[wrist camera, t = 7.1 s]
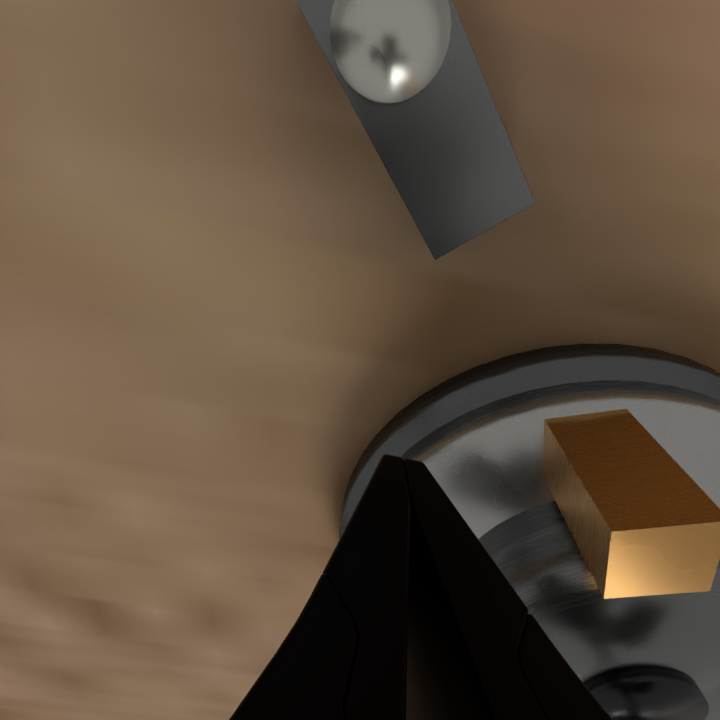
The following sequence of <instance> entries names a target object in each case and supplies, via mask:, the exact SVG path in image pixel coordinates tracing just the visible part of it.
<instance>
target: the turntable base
mask: <svg viewBox="0 0 720 720" xmlns="http://www.w3.org/2000/svg"><path fill="white" fill-rule="evenodd" d="M600 380H617V381H643V382H650V383H657V384H664V385H672V386H677V387H680V388H684V389H688V390H691V391H695V392H699V393H702V394H706V395H708V396H711V397H713V398H715V399H718V400H720V373H718V372H716V371H715V370H713V369H711V368H709V367H706V366H704V365H702V364H699V363H697V362H695V361H692V360H690V359H688V358H685V357H682V356H678V355H675V354H671V353H667V352H663V351H660V350H656V349H651V348H643V347H636V346H628V345H620V344H577V345H567V346H558V347H548V348H543V349H538V350H533V351H529V352H524V353H519V354H515V355H510V356H507V357H504V358H501V359H498V360H495V361H492V362H489V363H486V364H483V365H480V366H477V367H475V368H473V369H471V370H469V371H466V372H464V373H462V374H460V375H458V376H456V377H453V378H451V379H449V380H447V381H445V382H443V383H442V384H440V385H438V386H437V387H435V388H434V389H432V390H430V391H429V392H427V393H425V394H424V395H422V396H420V397H419V398H418V399H416V400H415V401H414V402H412V403H411V404H410V405H409V406H407V407H406V408H405V409H403V410H402V411H401V412H400V413H398V414H397V415H396V416H395V417H394V418H393V419H392V420H391V421H390V422H389V423H388V424H387V425H386V426H385V427H384V428H383V429H382V430H381V431H380V432H379V433H378V434H377V435H376V437H375V438H374V439H373V441H372V442H371V443H370V445H369V446H368V447H367V449H366V450H365V451H364V453H363V454H362V456H361V458H360V459H359V461H358V463H357V465H356V467H355V469H354V471H353V473H352V475H351V477H350V480H349V483H348V486H347V490H346V493H345V496H344V503H343V510H342V518H341V528H340V538H341V536H342V534H343V532H344V530H345V528H346V526H347V524H348V522H349V520H350V518H351V516H352V514H353V512H354V510H355V508H356V506H357V504H358V503H359V501H360V499H361V497H362V495H363V493H364V491H365V489H366V487H367V485H368V483H369V481H370V479H371V477H372V475H373V473H374V471H375V469H376V467H377V465H378V463H379V461H380V459H381V457H382V456H383V455H384V454H388V455H393V456H397V457H401V456H402V455H403V454H404V453H405V452H406V451H407V450H408V449H409V448H411V447H412V446H413V445H415V444H416V443H417V442H419V441H420V440H422V439H423V438H424V437H426V436H427V435H429V434H430V433H431V432H433V431H434V430H436V429H437V428H439V427H441V426H443V425H445V424H446V423H448V422H450V421H452V420H454V419H455V418H457V417H459V416H461V415H463V414H465V413H467V412H470V411H472V410H474V409H477V408H479V407H481V406H484V405H486V404H489V403H491V402H493V401H496V400H499V399H503V398H506V397H509V396H513V395H516V394H519V393H523V392H526V391H529V390H534V389H539V388H544V387H550V386H555V385H560V384H565V383H576V382H588V381H600Z"/></svg>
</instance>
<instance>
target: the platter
mask: <svg viewBox="0 0 720 720" xmlns="http://www.w3.org/2000/svg"><path fill="white" fill-rule="evenodd" d="M401 458H402V459H403V460H404V459H412V460H416V461H421V462H423V463H424V464H425V465H426V467H427V468H428V470H429V471H430V472H431V474H432V475H433V477H434V478H435V479H436V481H437V482H438V484H439V485H440V486H441V488H442V489H443V491H444V492H445V493H446V495H447V496H448V498H449V499H450V500H451V502H452V503H453V505H454V506H455V507H456V509H457V510H458V512H459V513H460V514H461V516H462V517H463V519H464V520H465V521H466V523H467V524H468V526H469V527H470V528H471V530H472V531H473V533H474V534H475V535H476V537H477V538H478V539H479V538H480V537H481V536H482V535H484V534H485V533H486V532H488V531H489V530H491V529H492V528H494V527H495V526H496V525H498V524H500V523H501V522H503V521H505V520H507V519H509V518H511V517H512V516H514V515H516V514H519V513H521V512H523V511H526V510H528V509H530V508H533V507H536V506H539V505H542V504H545V503H548V502H551V501H556V503H557V505H558V507H559V509H560V511H561V513H562V515H563V517H564V519H565V521H566V523H567V525H568V527H569V529H570V531H571V533H572V535H573V537H574V539H575V541H576V543H577V545H578V547H579V549H580V552H581V554H582V556H583V558H584V560H585V562H586V564H587V566H588V568H589V570H590V572H591V574H592V576H593V578H594V580H595V582H596V584H597V586H598V588H599V590H600V592H601V594H602V596H603V598H604V599H608V598H622V597H636V596H649V595H663V594H677V593H691V592H704V591H710V589H711V586H712V583H713V579H714V576H715V573H716V569H717V566H718V563H719V559H720V400H718V399H715V398H713V397H711V396H708V395H706V394H702V393H699V392H695V391H691V390H688V389H684V388H680V387H677V386H672V385H664V384H657V383H650V382H643V381H617V380H600V381H588V382H576V383H565V384H560V385H555V386H550V387H544V388H539V389H534V390H529V391H526V392H523V393H519V394H516V395H513V396H509V397H506V398H503V399H499V400H496V401H493V402H491V403H489V404H486V405H484V406H481V407H479V408H477V409H474V410H472V411H470V412H467V413H465V414H463V415H461V416H459V417H457V418H455V419H454V420H452V421H450V422H448V423H446V424H445V425H443V426H441V427H439V428H437V429H436V430H434V431H433V432H431V433H430V434H429V435H427V436H426V437H424V438H423V439H422V440H420V441H419V442H417V443H416V444H415V445H413V446H412V447H411V448H409V449H408V450H407V451H406V452H405V453H404V454H403V455H402V456H401Z"/></svg>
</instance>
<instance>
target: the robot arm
mask: <svg viewBox="0 0 720 720" xmlns="http://www.w3.org/2000/svg"><path fill="white" fill-rule="evenodd" d="M528 613H529V610H528V608H527V607H526V605H525V604H524V602H523V601H522V600H521V598H520V597H519V596H518V594H517V593H516V591H515V590H514V589H513V587H512V586H511V584H510V583H509V582H508V580H507V579H506V577H505V576H504V575H503V573H502V572H501V570H500V569H499V568H498V566H497V565H496V563H495V562H494V561H493V559H492V558H491V556H490V555H489V554H488V552H487V551H486V549H485V548H484V547H483V545H482V544H481V542H480V541H479V540H478V538H477V537H476V535H475V534H474V533H473V531H472V530H471V528H470V527H469V526H468V524H467V523H466V521H465V520H464V519H463V517H462V516H461V514H460V513H459V512H458V510H457V509H456V507H455V506H454V505H453V503H452V502H451V500H450V499H449V498H448V496H447V495H446V493H445V492H444V491H443V489H442V488H441V486H440V485H439V484H438V482H437V481H436V479H435V478H434V477H433V475H432V474H431V472H430V471H429V470H428V468H427V467H426V465H425V464H424V463H423V462H421V461H416V460H412V459H404V460H403V459H402V458H401V457H397V456H393V455H388V454H384V455H383V456H382V457H381V459H380V461H379V463H378V465H377V467H376V469H375V471H374V473H373V475H372V477H371V479H370V481H369V483H368V485H367V487H366V489H365V491H364V493H363V495H362V497H361V499H360V501H359V503H358V504H357V506H356V508H355V510H354V512H353V514H352V516H351V518H350V520H349V522H348V524H347V526H346V528H345V530H344V532H343V534H342V536H341V538H340V540H339V542H338V544H337V546H336V548H335V550H334V552H333V554H332V556H331V558H330V559H329V561H328V563H327V565H326V567H325V569H324V571H323V574H322V575H321V577H320V579H319V580H318V582H317V584H316V586H315V588H314V590H313V592H312V594H311V596H310V598H309V600H308V601H307V603H306V605H305V607H304V609H303V610H302V612H301V614H300V616H299V618H298V619H297V621H296V623H295V624H294V626H293V627H292V629H291V630H290V632H289V634H288V635H287V637H286V638H285V640H284V641H283V643H282V644H281V646H280V647H279V649H278V650H277V652H276V653H275V655H274V656H273V658H272V659H271V661H270V662H269V663H268V665H267V666H266V668H265V669H264V671H263V672H262V673H261V675H260V676H259V678H258V679H257V681H256V682H255V683H254V685H253V686H252V688H251V689H250V691H249V692H248V693H247V695H246V696H245V698H244V699H243V701H242V702H241V703H240V705H239V706H238V708H237V709H236V711H235V712H234V713H233V715H232V716H231V718H230V719H229V720H613V719H612V718H611V717H610V716H609V714H608V713H607V712H606V711H605V710H604V708H603V707H602V706H601V705H600V703H599V702H598V701H597V700H596V698H595V697H594V696H593V694H592V693H591V692H590V691H589V689H588V688H587V687H586V686H585V684H584V683H583V682H582V681H581V679H580V678H579V677H578V676H577V674H576V673H575V672H574V671H573V669H572V668H571V667H570V665H569V664H568V663H567V661H566V660H565V659H564V657H563V656H562V655H561V653H560V652H559V651H558V649H557V648H556V647H555V645H554V644H553V643H552V641H551V640H550V638H549V637H548V636H547V634H546V633H545V632H544V630H543V629H542V627H541V626H540V625H539V623H538V622H537V620H536V619H535V618H534V616H533V615H532V614H528Z"/></svg>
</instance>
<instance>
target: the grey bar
mask: <svg viewBox="0 0 720 720" xmlns="http://www.w3.org/2000/svg"><path fill="white" fill-rule="evenodd" d="M296 2H297V3H298V5H299V7H300V9H301V11H302V13H303V15H304V17H305V18H306V20H307V22H308V24H309V26H310V28H311V30H312V31H313V33H314V35H315V37H316V39H317V41H318V43H319V44H320V46H321V48H322V50H323V52H324V54H325V56H326V58H327V59H328V61H329V63H330V65H331V67H332V69H333V71H334V72H335V74H336V76H337V78H338V80H339V82H340V84H341V85H342V87H343V89H344V91H345V93H346V95H347V97H348V98H349V100H350V102H351V104H352V106H353V108H354V110H355V112H356V113H357V115H358V117H359V119H360V121H361V123H362V125H363V126H364V128H365V130H366V132H367V134H368V136H369V138H370V139H371V141H372V143H373V145H374V147H375V149H376V151H377V153H378V154H379V156H380V158H381V160H382V162H383V164H384V166H385V167H386V169H387V171H388V173H389V175H390V177H391V179H392V180H393V182H394V184H395V186H396V188H397V190H398V192H399V193H400V195H401V197H402V199H403V201H404V203H405V205H406V207H407V208H408V210H409V212H410V214H411V216H412V218H413V220H414V221H415V223H416V225H417V227H418V229H419V231H420V233H421V234H422V236H423V238H424V240H425V242H426V244H427V246H428V248H429V249H430V251H431V253H432V255H433V257H434V259H435V260H436V259H438V258H439V257H441V256H443V255H445V254H446V253H448V252H450V251H452V250H453V249H455V248H457V247H459V246H460V245H462V244H464V243H465V242H467V241H469V240H471V239H472V238H474V237H476V236H478V235H479V234H481V233H483V232H485V231H486V230H488V229H490V228H492V227H493V226H495V225H497V224H499V223H500V222H502V221H504V220H505V219H507V218H509V217H511V216H512V215H514V214H516V213H518V212H519V211H521V210H523V209H525V208H526V207H528V206H530V205H532V204H533V203H535V202H534V199H533V197H532V194H531V192H530V189H529V187H528V184H527V182H526V179H525V177H524V175H523V172H522V170H521V167H520V165H519V162H518V160H517V157H516V155H515V152H514V150H513V147H512V145H511V143H510V140H509V138H508V135H507V133H506V130H505V128H504V125H503V123H502V120H501V118H500V115H499V113H498V111H497V108H496V106H495V103H494V101H493V98H492V96H491V93H490V91H489V88H488V86H487V84H486V81H485V79H484V76H483V74H482V71H481V69H480V66H479V64H478V61H477V59H476V56H475V54H474V52H473V49H472V47H471V44H470V42H469V39H468V37H467V34H466V32H465V29H464V27H463V25H462V22H461V20H460V17H459V15H458V12H457V10H456V7H455V5H454V2H453V0H296Z"/></svg>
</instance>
